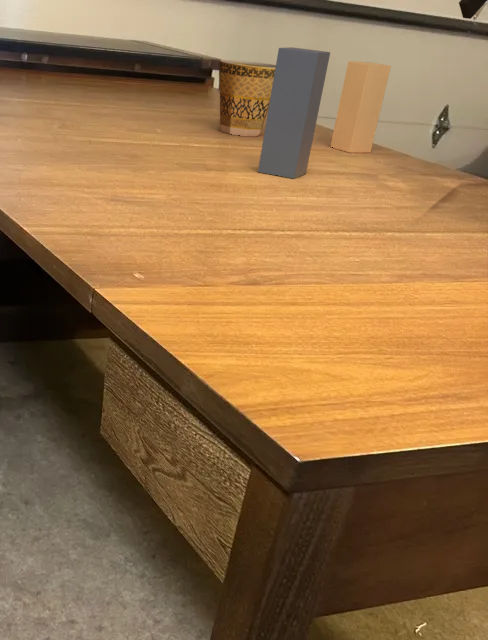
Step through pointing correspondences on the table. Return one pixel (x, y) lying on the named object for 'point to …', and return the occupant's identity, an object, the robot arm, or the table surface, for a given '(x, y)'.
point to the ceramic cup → (244, 96)
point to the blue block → (293, 111)
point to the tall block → (360, 106)
